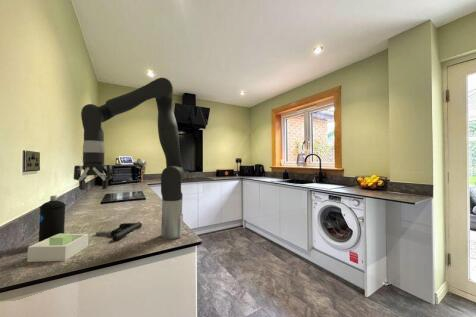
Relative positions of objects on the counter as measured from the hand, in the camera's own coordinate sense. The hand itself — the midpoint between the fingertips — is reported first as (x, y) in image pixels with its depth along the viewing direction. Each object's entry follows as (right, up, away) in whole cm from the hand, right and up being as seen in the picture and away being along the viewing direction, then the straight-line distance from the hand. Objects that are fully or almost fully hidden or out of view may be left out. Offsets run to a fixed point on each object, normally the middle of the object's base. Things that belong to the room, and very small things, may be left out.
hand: (93, 189), depth 84 cm
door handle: (+3, -24, +12) cm, 27 cm away
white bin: (-5, -22, -10) cm, 25 cm away
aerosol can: (-16, -23, -2) cm, 28 cm away
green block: (-5, -22, -10) cm, 25 cm away
